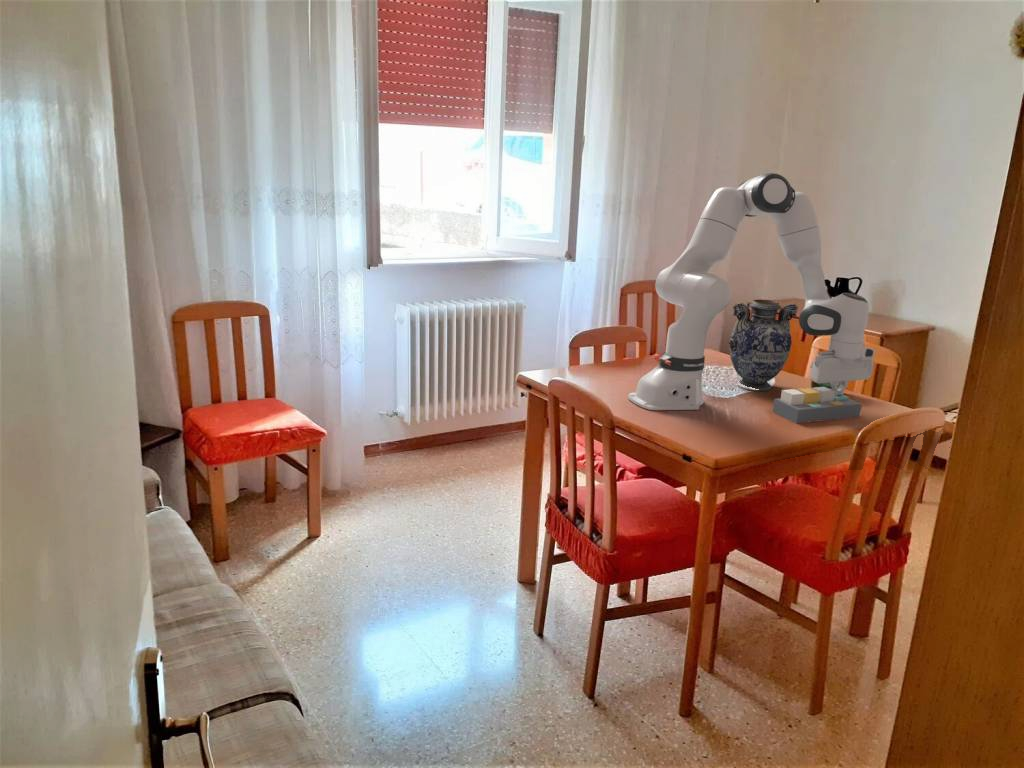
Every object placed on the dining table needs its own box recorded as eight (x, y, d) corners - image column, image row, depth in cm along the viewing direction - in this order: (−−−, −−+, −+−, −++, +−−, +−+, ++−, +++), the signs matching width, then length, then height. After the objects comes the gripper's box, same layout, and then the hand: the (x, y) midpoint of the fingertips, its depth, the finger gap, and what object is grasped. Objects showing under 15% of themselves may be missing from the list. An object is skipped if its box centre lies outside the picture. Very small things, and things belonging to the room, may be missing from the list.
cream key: (790, 406, 212) (792, 394, 211) (780, 401, 216) (781, 390, 215) (802, 405, 214) (804, 393, 213) (792, 400, 218) (794, 389, 217)
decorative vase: (734, 394, 232) (746, 305, 224) (711, 378, 250) (722, 295, 242) (798, 395, 235) (813, 307, 227) (771, 379, 253) (784, 297, 245)
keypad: (796, 423, 209) (798, 409, 208) (772, 411, 218) (774, 398, 217) (859, 416, 217) (862, 403, 216) (834, 406, 226) (836, 392, 225)
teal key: (834, 409, 219) (836, 398, 218) (823, 404, 223) (825, 393, 222) (846, 408, 221) (848, 397, 219) (835, 403, 224) (837, 392, 223)
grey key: (821, 403, 216) (823, 392, 215) (810, 398, 220) (812, 387, 219) (833, 402, 218) (835, 391, 217) (822, 397, 222) (824, 386, 221)
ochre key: (805, 404, 214) (807, 393, 213) (795, 400, 218) (797, 388, 217) (818, 403, 216) (820, 392, 215) (807, 399, 220) (809, 387, 219)
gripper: (825, 354, 210) (817, 401, 214) (880, 350, 218) (871, 395, 222) (809, 348, 216) (801, 394, 220) (863, 345, 223) (855, 389, 227)
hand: (837, 395), depth 221 cm, fingers closed, pressing on teal key
